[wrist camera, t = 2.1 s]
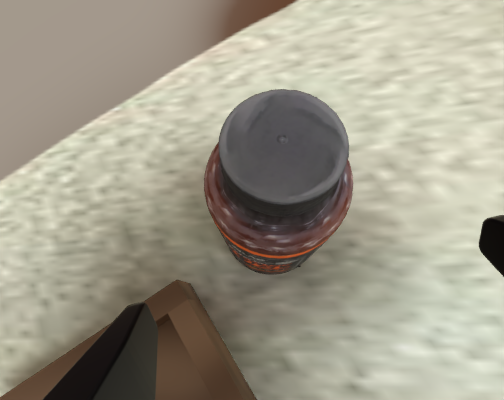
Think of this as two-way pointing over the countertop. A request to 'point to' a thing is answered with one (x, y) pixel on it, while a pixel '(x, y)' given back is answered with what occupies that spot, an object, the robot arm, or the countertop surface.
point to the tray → (166, 355)
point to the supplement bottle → (279, 179)
